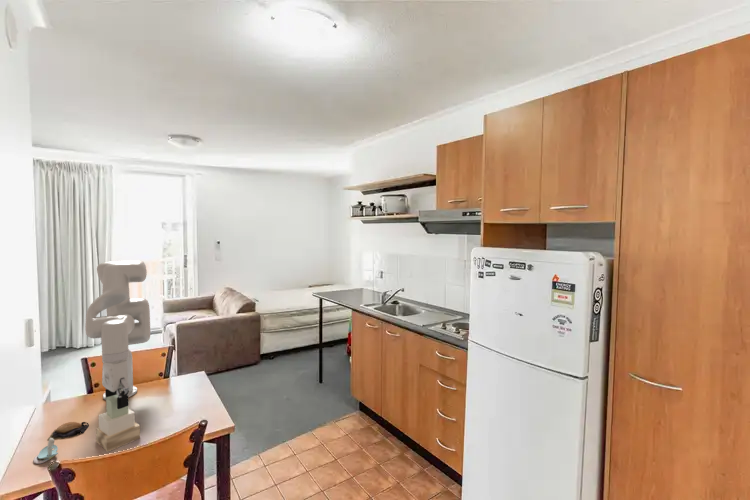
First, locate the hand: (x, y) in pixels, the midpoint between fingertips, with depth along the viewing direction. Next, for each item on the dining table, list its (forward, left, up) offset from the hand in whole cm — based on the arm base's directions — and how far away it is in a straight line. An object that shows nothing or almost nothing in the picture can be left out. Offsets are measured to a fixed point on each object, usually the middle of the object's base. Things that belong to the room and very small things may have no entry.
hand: (116, 403), depth 128 cm
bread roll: (-19, -8, -14) cm, 26 cm away
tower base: (0, 0, -14) cm, 14 cm away
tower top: (0, 0, -9) cm, 9 cm away
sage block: (0, 0, -4) cm, 4 cm away
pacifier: (-7, -18, -14) cm, 24 cm away
